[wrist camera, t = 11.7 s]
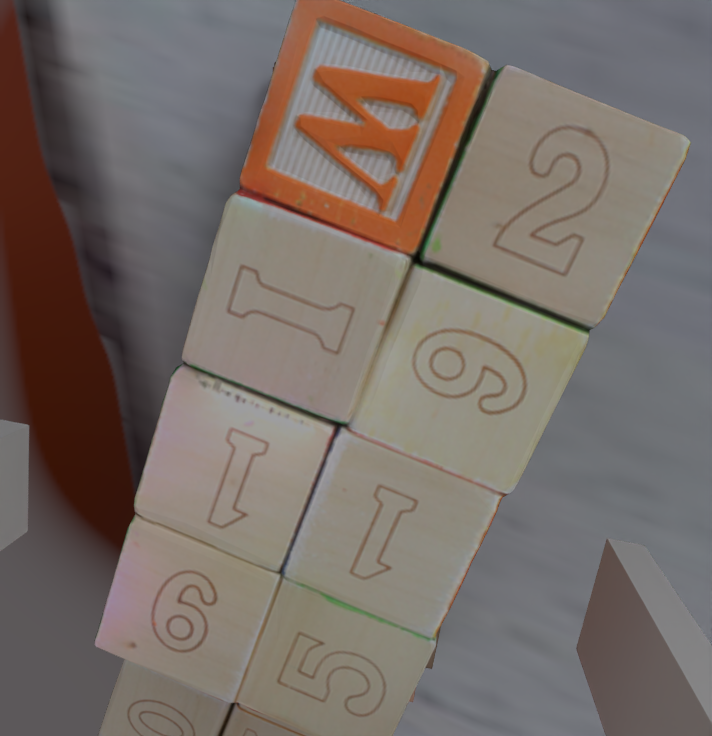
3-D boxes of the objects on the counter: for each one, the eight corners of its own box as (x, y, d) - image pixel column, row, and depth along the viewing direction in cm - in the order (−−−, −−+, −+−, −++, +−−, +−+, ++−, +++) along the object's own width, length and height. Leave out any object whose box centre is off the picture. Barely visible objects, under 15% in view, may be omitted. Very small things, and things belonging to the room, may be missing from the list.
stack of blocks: (324, 678, 25) (228, 1071, 13) (192, 619, 25) (-20, 954, 14) (544, 196, 20) (712, 130, 8) (375, 129, 20) (297, -32, 8)
